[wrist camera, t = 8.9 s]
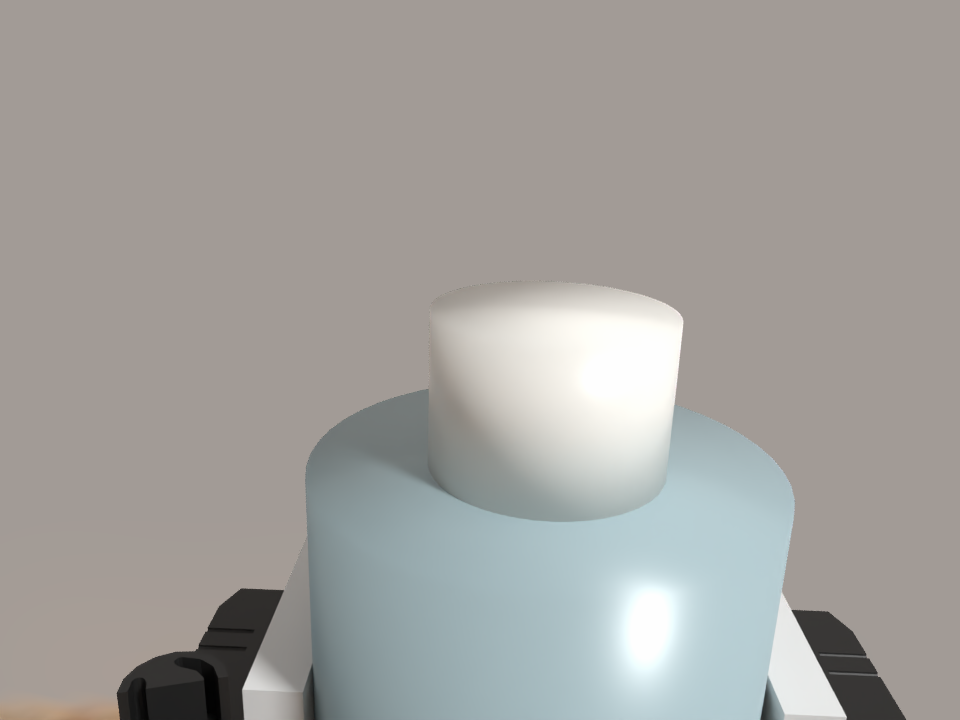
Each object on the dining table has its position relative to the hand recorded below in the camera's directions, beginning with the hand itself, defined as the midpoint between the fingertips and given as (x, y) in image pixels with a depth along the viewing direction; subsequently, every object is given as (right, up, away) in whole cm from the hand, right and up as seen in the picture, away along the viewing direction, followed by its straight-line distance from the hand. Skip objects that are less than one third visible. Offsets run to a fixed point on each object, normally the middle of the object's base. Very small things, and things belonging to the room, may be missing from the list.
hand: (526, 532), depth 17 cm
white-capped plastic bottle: (0, -7, -3) cm, 8 cm away
